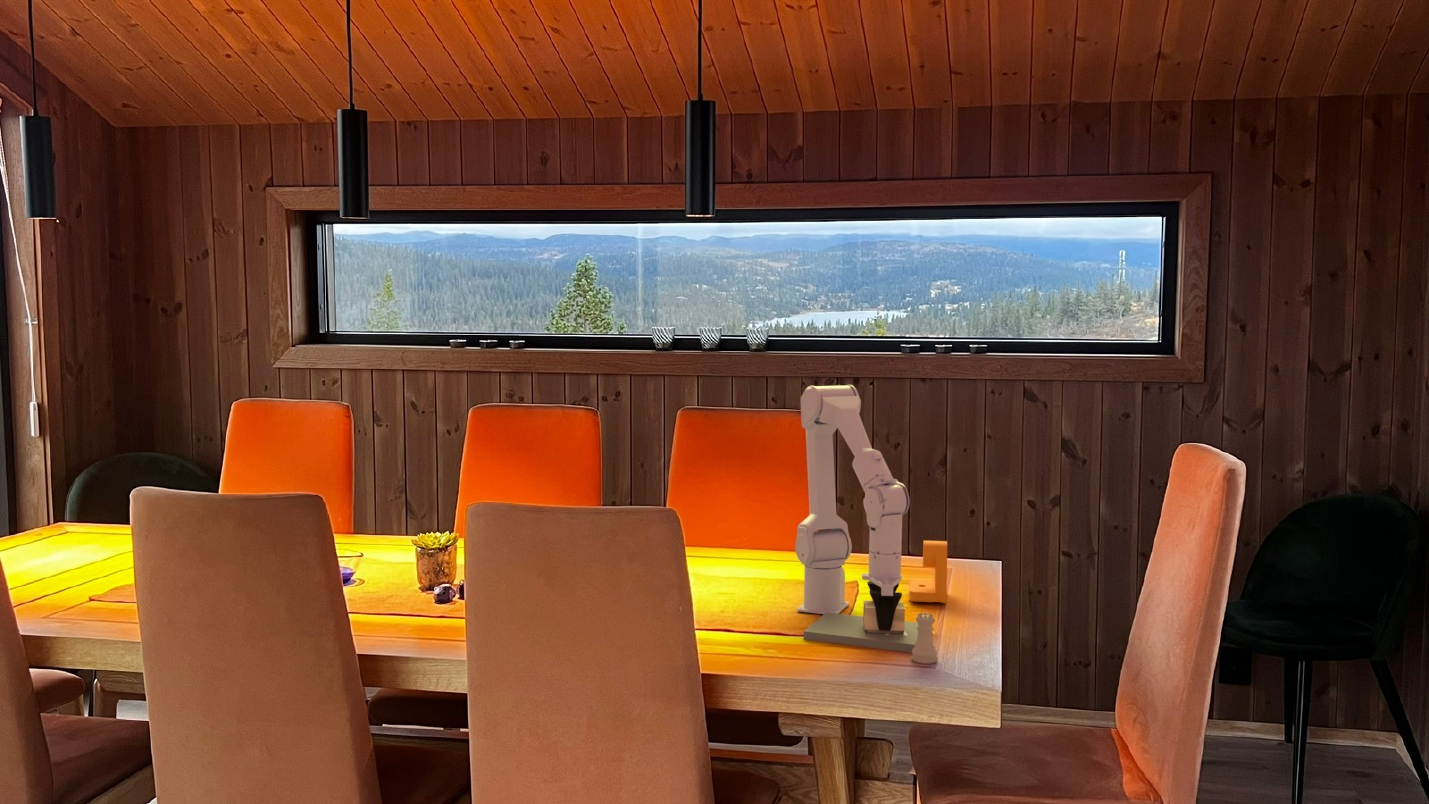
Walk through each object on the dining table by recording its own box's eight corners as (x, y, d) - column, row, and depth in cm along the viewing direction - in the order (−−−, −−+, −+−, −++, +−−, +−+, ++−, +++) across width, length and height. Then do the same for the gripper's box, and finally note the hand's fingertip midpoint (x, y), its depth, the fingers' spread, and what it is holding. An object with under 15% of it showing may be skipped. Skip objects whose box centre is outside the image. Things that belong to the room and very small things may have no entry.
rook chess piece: (934, 666, 203) (936, 619, 202) (908, 662, 204) (909, 616, 204) (940, 658, 207) (941, 612, 206) (914, 655, 208) (915, 609, 208)
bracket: (909, 591, 253) (910, 534, 252) (944, 593, 252) (946, 536, 251) (909, 605, 242) (910, 545, 241) (946, 606, 241) (947, 547, 240)
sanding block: (863, 624, 221) (863, 600, 221) (901, 625, 221) (902, 601, 221) (864, 632, 216) (865, 607, 216) (904, 633, 216) (904, 608, 216)
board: (826, 620, 230) (826, 612, 230) (931, 632, 223) (931, 624, 222) (803, 639, 217) (803, 631, 217) (914, 653, 210) (914, 644, 210)
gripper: (860, 542, 225) (859, 614, 226) (864, 559, 210) (863, 636, 212) (899, 543, 224) (897, 615, 226) (906, 560, 210) (904, 637, 211)
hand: (883, 625), depth 219 cm, fingers closed on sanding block, 5 cm apart
